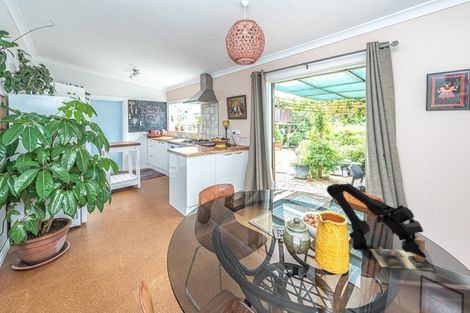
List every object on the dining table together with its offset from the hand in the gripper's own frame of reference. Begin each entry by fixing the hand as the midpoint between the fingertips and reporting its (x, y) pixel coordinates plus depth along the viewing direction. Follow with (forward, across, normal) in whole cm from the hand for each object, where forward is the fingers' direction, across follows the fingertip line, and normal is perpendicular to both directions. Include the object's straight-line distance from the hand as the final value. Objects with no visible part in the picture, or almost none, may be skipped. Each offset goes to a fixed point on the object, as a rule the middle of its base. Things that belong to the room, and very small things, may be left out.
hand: (423, 251), depth 97 cm
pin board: (-1, +1, +12) cm, 12 cm away
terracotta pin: (+4, 0, +6) cm, 7 cm away
